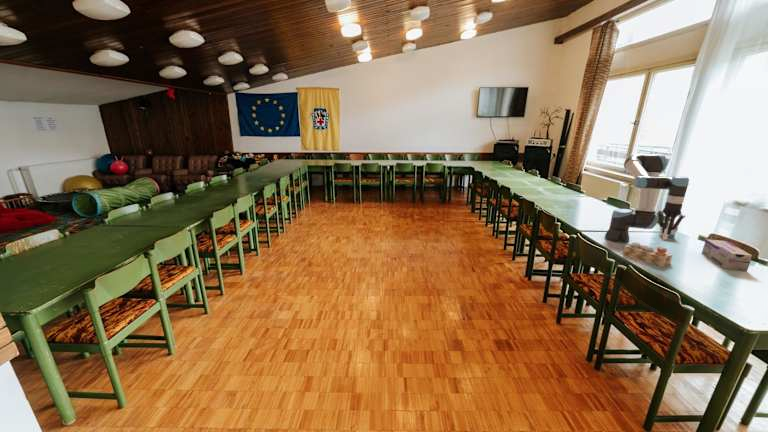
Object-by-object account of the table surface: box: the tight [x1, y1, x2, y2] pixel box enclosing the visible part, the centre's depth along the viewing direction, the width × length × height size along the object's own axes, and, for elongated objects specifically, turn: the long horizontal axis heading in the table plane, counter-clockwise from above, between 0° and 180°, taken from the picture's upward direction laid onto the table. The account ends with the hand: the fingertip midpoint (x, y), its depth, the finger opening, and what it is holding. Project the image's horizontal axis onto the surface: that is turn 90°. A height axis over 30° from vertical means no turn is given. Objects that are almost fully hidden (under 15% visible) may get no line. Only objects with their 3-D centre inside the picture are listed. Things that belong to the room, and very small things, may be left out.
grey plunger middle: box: [643, 245, 654, 252], centre depth 205 cm, size 5×5×8 cm
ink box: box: [658, 220, 678, 239], centre depth 243 cm, size 9×5×12 cm, turn 58°
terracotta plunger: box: [656, 246, 668, 256], centre depth 198 cm, size 5×5×8 cm
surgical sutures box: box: [701, 238, 753, 273], centre depth 198 cm, size 25×11×11 cm, turn 158°
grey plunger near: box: [631, 242, 642, 249], centre depth 211 cm, size 5×5×8 cm
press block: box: [622, 243, 673, 268], centre depth 205 cm, size 22×10×6 cm, turn 27°
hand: (664, 238), depth 195 cm, fingers closed
